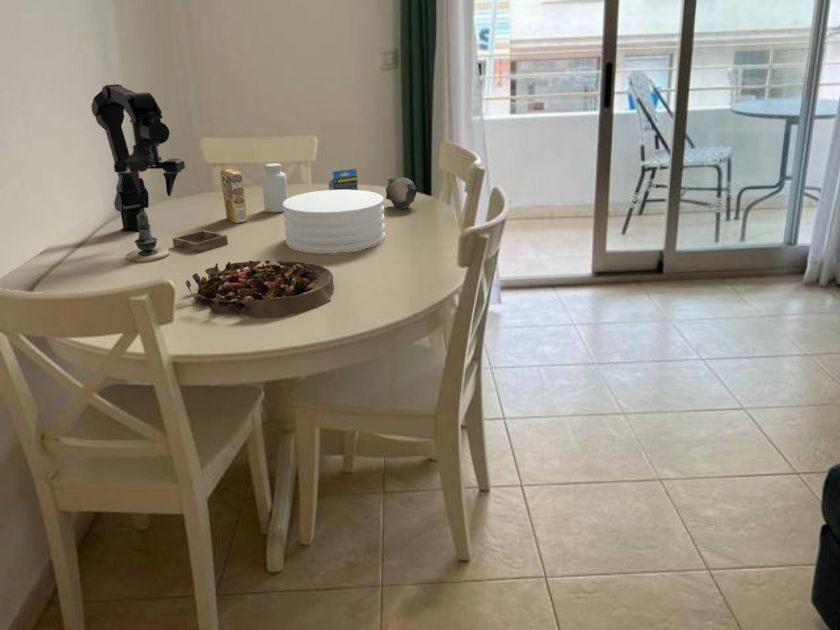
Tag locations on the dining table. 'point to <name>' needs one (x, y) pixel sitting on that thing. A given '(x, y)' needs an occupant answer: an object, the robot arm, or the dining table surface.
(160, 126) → the robot arm
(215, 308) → the food dish
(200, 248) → the bin frame
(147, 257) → the coaster
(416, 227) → the dining table surface
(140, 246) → the grey tall carved piece
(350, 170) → the label tape box
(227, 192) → the candy box
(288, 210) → the plate stack
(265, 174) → the pill bottle
